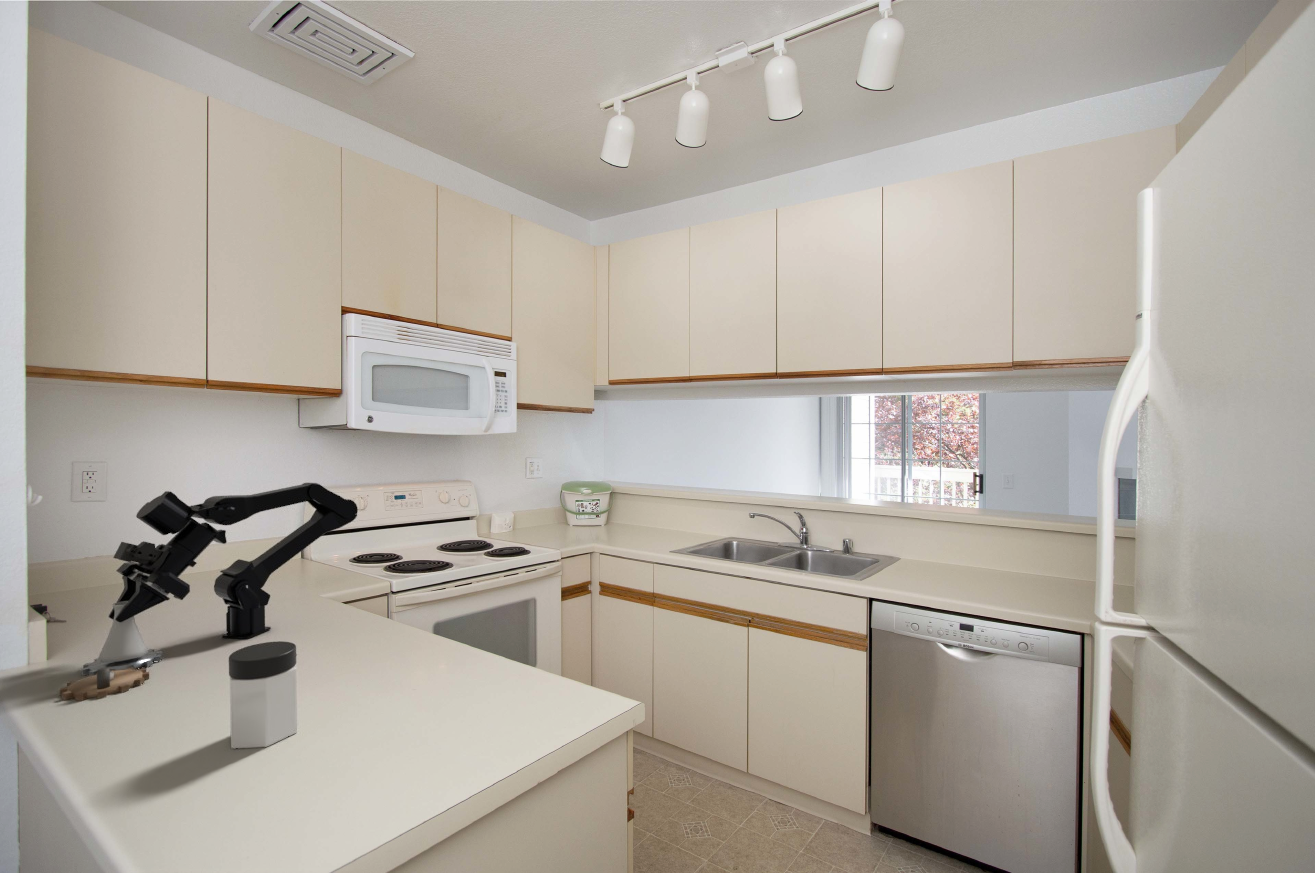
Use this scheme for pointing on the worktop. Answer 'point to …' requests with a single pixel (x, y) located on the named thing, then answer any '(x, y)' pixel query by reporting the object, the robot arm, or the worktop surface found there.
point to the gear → (123, 663)
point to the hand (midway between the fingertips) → (114, 619)
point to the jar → (263, 694)
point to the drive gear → (104, 683)
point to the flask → (123, 639)
